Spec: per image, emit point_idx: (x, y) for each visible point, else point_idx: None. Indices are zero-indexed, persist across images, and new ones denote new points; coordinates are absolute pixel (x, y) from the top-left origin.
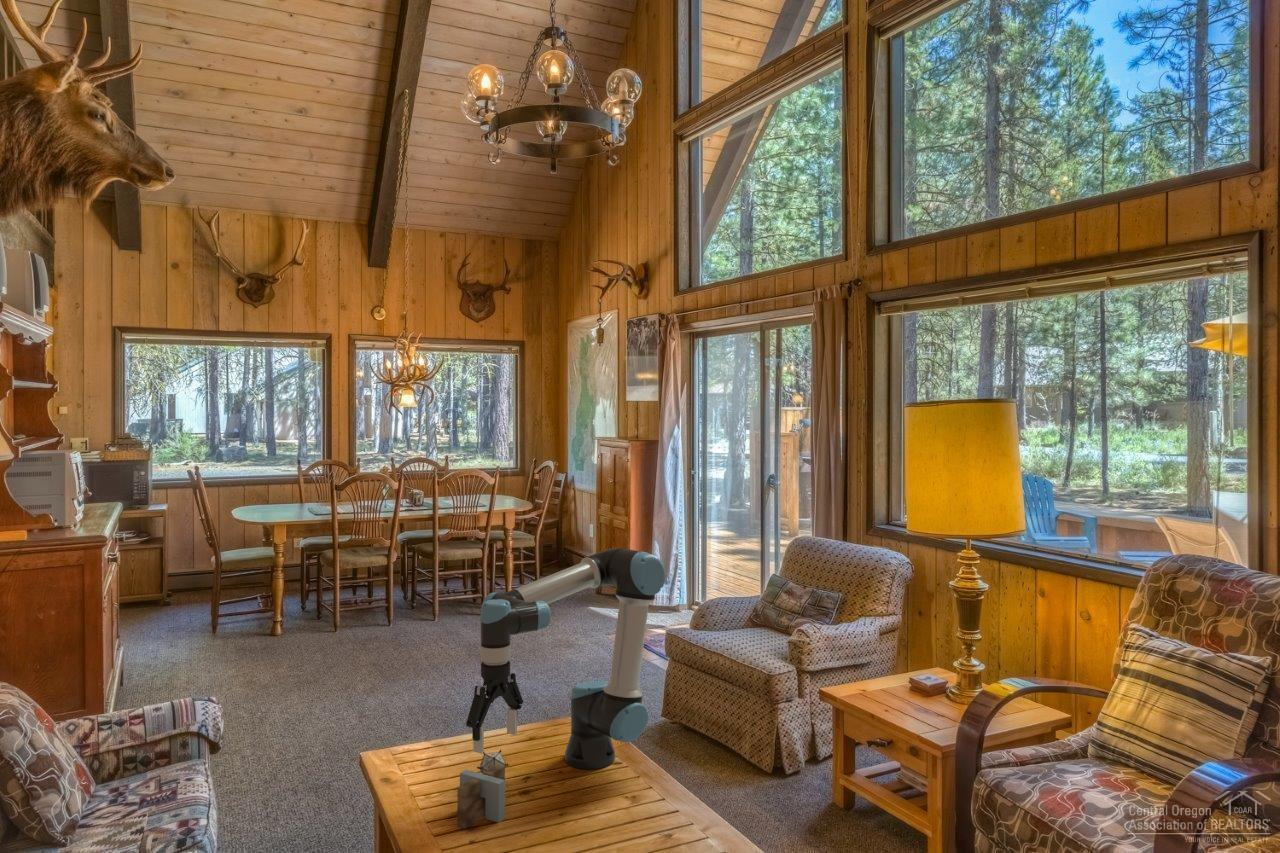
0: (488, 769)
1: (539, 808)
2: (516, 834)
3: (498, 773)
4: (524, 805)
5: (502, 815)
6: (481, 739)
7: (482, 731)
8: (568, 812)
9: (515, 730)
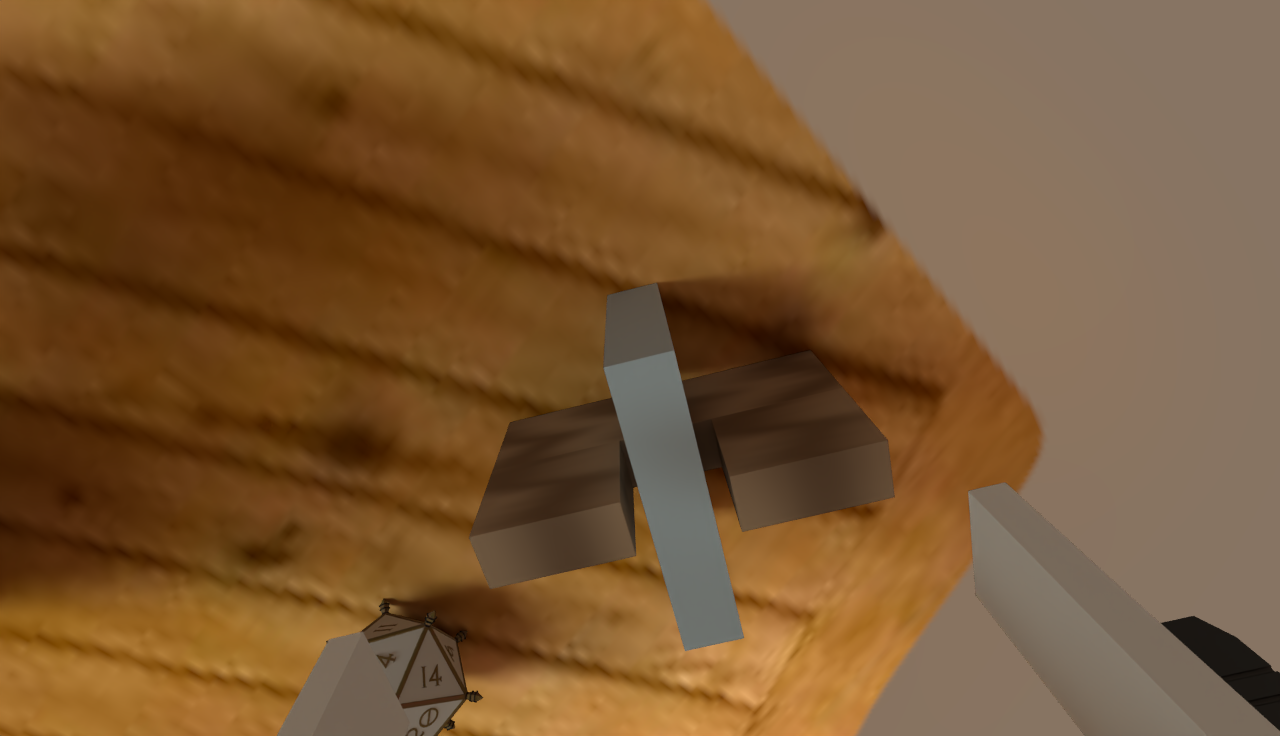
0: (442, 668)
1: (397, 253)
2: (672, 108)
3: (540, 507)
4: (443, 337)
5: (627, 296)
6: (1141, 611)
7: (1237, 725)
8: (285, 88)
9: (334, 678)
